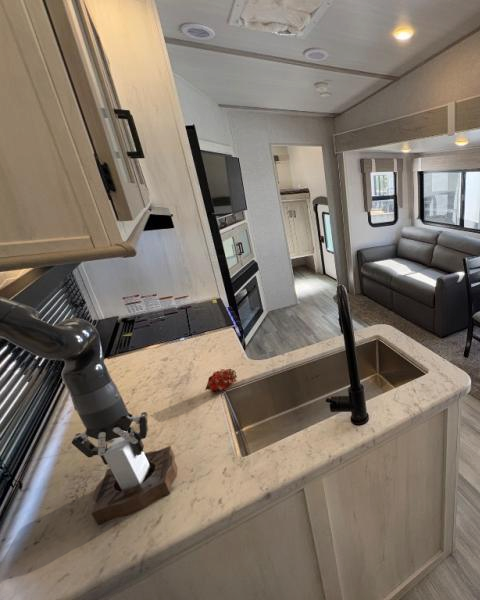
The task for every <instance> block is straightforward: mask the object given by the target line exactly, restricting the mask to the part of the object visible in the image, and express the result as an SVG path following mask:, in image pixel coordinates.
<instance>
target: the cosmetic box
mask: <svg viewBox="0 0 480 600" xmlns="http://www.w3.org/2000/svg"><path fill="white" fill-rule="evenodd" d="M107 448H108V449H107V451H106V452H105V454H104V455H103V456H104V458H105V460H106V461H107V463H108V465H107V466H108V468H109V469H111V471H112V473H113V475H114V476H115V478H116V480H117V482H118V484H119V486H120V488H121V489H122V491H126V490H129V489H132V488H134V487H136V486H138V485H140V484H141V483H143V482H145V479H146V477H147V475H148V474H149V473H148V471H149V469H150V465H149V462H148V460H147V458H146V456H145V454H144V453H145V452H144V451H143V452H142V453H141V455H138V456H137V455H136V452H135V450H134V448H133V446H132V443H131V442H130V441H129V440H125V439H124V438H122V437H119V438H114V439H113V441H112V442H111V444H110V445H109V446H108V447H107ZM147 473H148V474H147Z"/></svg>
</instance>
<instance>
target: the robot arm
mask: <svg viewBox="0 0 480 600" xmlns="http://www.w3.org/2000/svg"><path fill="white" fill-rule="evenodd" d="M40 317H41V313H40V312H39V311H38V310H37V309H36V308H34V307H31V306H29V305H27V304H24V303H20V302H18V301H16V300H12V299H9V298H6V297H3V296H1V295H0V338H1V339H5V340H6V341H8V342H9V343H12V344H13V345H15V346H17V347H18V348H21V349H23V350H25V351H26V352H28V353H30V354H32V355H34V356H36V357H39V358H42V359H46V360H51V361H59V362H60V361H64V366H63V368H62V371H61V374H60V375H61V379H62V381H63V384H64V386H65V388H66V390H67V391H68V393H69V396H70V398H71V402H72V405H73V408H74V410H75V412H77V415H78V416H79V418H80V420H81V423H82V424H83V426H84V428H85V431H83V432H81V433H80V432H78V433H76V434H75V435H74V437H73V438H72V440H71V444H72V445H73V446H74V447H75V448H76V449H77V450H79V452H81V453H82V454H84V456H86V457H87V458H93V457H94V456H99V457H100V458H101V460H102V462H103V464H104V465H106V466H109V465H108V463H107V461H106V460H105V458H104V456H103V455H104V454H105V452H106V451H107V449H108V448H109V446H108V444H109V442H110V441H112V440H114V439H115V438H119V437H122V438H124V439H125V440H129V441H130V442H131V443H132V446H133V448H134V450H135V452H136V455H137V456H138V455H141V453H142V452H144V448H145V446H144V443H143V441H142V440H144V439H146V438H147V434H148V432H149V429H148V427H149V425H148V413H147V412H146V411H144V412H141V414H138V415H133V414H131V413H129V410H128V407H127V405H126V404H125V402H124V399H123V397H122V395H121V392H120V390H119V388H118V386H117V385H116V383H115V382H114V380H113V378H112V376H111V374H110V372H109V370H108V366H107V365H106V364H105V361H104V351H103V347H102V340H101V337H100V333H99V331H98V330H97V328H96V327H95V325H93V324H92V323H91V322H90V321H89V320H87V319H83V318H78V317H71V318H67V319H64V320H61V321H59V322H58V323H56V324H55V325H54V324H52V323H50V322H49V323H48V322H47V321H44V320H42V319H40ZM133 422H134V423H135V424H136V425H137V426H139V432H138V431H136V430H135V428H134V427H133V425H132V423H133ZM131 425H132V426H131ZM89 438H92V439H94V440H97V446H96V445H95V444H94V443H93V442H91V441H90V440H89Z"/></svg>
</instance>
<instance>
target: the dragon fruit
mask: <svg viewBox="0 0 480 600" xmlns="http://www.w3.org/2000/svg"><path fill="white" fill-rule="evenodd" d="M237 378H238V377H237V372H236V370H234V369H231V368H227V369H225V368H220V369H219V370H217V371H215V372H213V373H212V374H211V375H210V376H209V377H208V379H207V380H208V381H207V383H206V386H205V389H204V390H205V391H206V392H208V391H209V393H210V394H216V393H218V392H221V391H222V390H224V392H226V391H227V390H228V389H230V388H231V387H232V386H233V385H234V383H236V382H238V381H237ZM218 390H219V391H218Z"/></svg>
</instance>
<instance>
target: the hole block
mask: <svg viewBox="0 0 480 600" xmlns="http://www.w3.org/2000/svg"><path fill="white" fill-rule="evenodd" d="M144 454H145V456H146V458H147V460H148V462H149V465H150V469H149V471H148V473H147V475H148V474H151V475H150V476H149V477H148V478H146V480H144V481H143V483H141V484H140V485H138V486H136V487H134V488H131V489H127V490H124V491H122V489H121V488H120V486H119V484H118V482H117V480H116V478H115V476H114V475H113V473H112V471H111V469H110V468H107V469H106V471H105V474H104V477H103V478H102V480H101V481H100V482H99V483H98V484H97V485H96V487H95V490H94V491H93V495H92V500H93V502H94V505H93V507H92V509H91V513H90V514H91V516H92V518H93V519H94V521H95V523H96V524H97V525H98V526H99V525H102V524H104V523H107V522H109V521H111V520H114V519H116V518H121V517H127V516H130V515H132V514H133V513H134V514H135V513H137V512H139V511H141V510H143V509H145V508H146V507H148V506H150V504H152V503H154V502H155V501H158V500H159V499H162V498H163V497H166V496H168V495H171V492H172V485H173V483H174V481H175V479H176V478H177V475H178V466H177V463H176V461H175V458H176V456H175V454H174V451H173V448H172V446H171V445H169V446H167V447H164V448H161V449H158V450H154V451H147V452H144Z"/></svg>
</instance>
